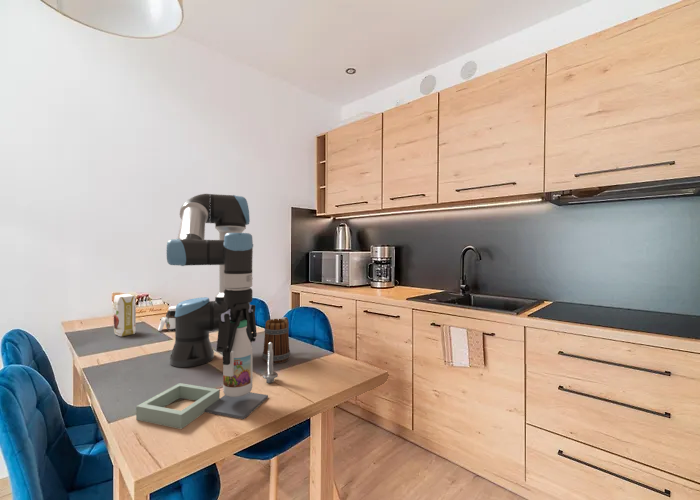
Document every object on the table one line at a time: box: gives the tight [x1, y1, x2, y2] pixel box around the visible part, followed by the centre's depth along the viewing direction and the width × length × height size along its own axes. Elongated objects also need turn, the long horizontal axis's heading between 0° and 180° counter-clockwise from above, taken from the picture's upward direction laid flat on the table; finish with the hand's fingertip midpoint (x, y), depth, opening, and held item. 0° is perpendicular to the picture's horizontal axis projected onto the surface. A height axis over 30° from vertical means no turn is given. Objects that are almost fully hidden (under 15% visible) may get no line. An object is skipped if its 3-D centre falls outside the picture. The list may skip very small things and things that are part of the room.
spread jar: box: [157, 305, 177, 332], centre depth 163 cm, size 12×11×12 cm
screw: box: [262, 342, 279, 384], centre depth 104 cm, size 13×5×5 cm
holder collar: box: [135, 382, 221, 430], centre depth 86 cm, size 14×14×4 cm
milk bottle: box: [222, 320, 254, 397], centre depth 89 cm, size 8×8×20 cm
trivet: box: [204, 391, 269, 420], centre depth 89 cm, size 12×12×1 cm
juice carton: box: [113, 293, 137, 337], centre depth 154 cm, size 8×9×19 cm
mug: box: [262, 316, 291, 365], centre depth 126 cm, size 16×11×15 cm
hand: (238, 369), depth 89 cm, fingers closed on milk bottle, 8 cm apart
